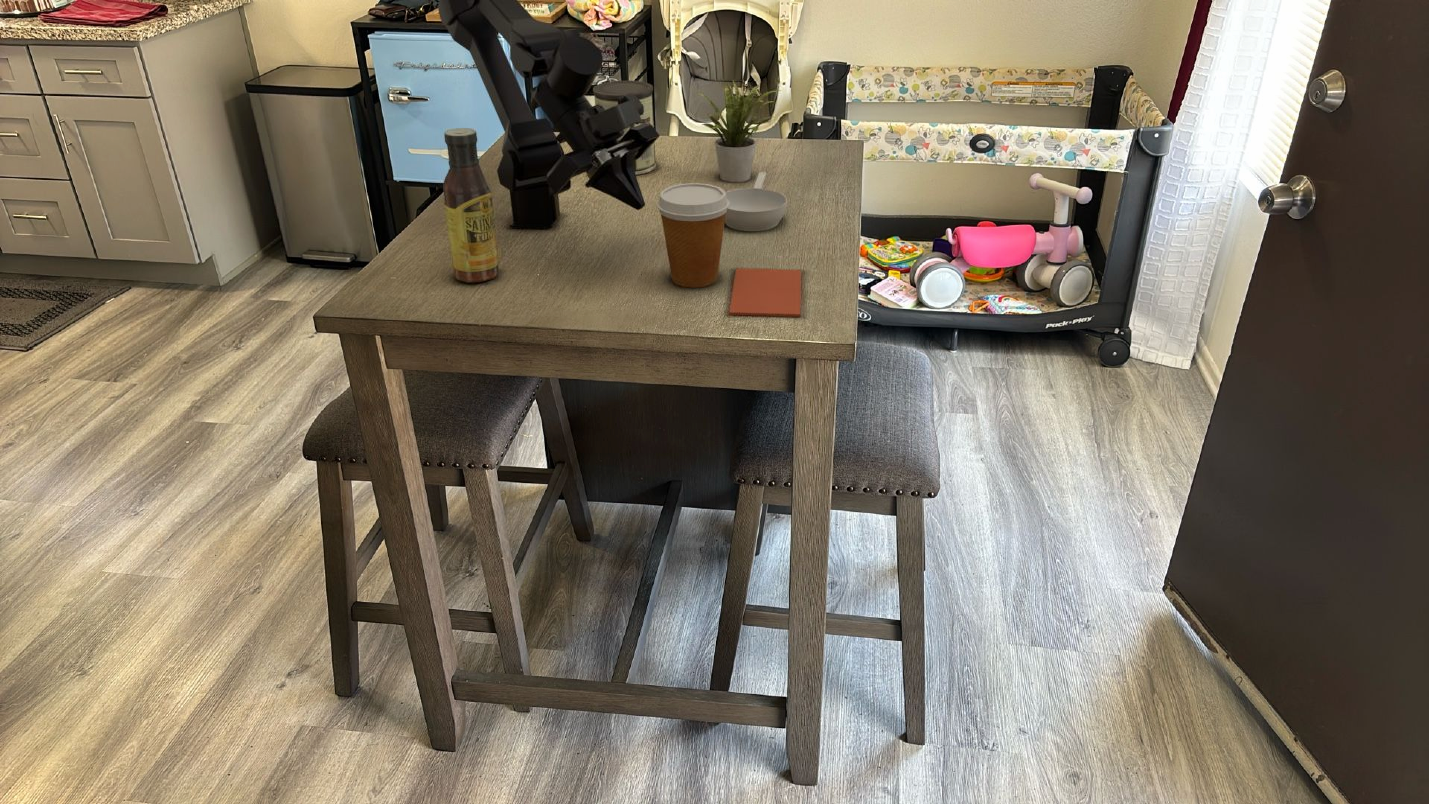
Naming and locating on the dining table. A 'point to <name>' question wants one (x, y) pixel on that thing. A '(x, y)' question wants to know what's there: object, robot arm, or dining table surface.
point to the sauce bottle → (469, 210)
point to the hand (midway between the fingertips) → (641, 207)
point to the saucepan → (754, 207)
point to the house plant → (736, 134)
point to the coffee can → (643, 91)
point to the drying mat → (766, 292)
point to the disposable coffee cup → (693, 231)
